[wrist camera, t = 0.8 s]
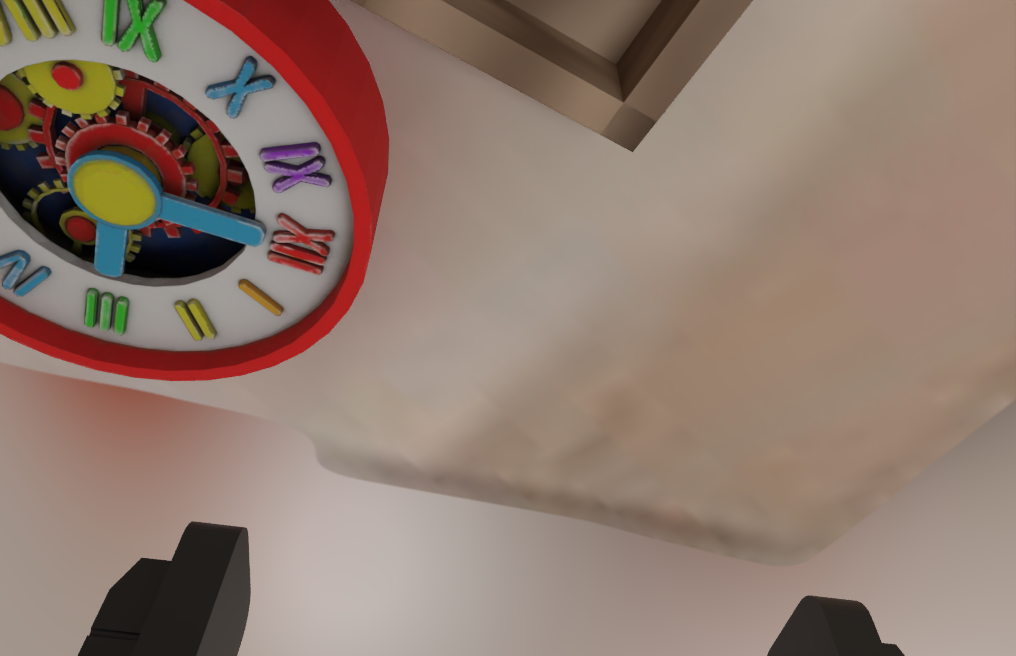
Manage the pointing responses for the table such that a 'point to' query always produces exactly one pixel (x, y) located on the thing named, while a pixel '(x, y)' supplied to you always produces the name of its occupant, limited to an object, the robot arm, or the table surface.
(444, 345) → the table surface
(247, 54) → the toy clock
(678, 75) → the caddy
